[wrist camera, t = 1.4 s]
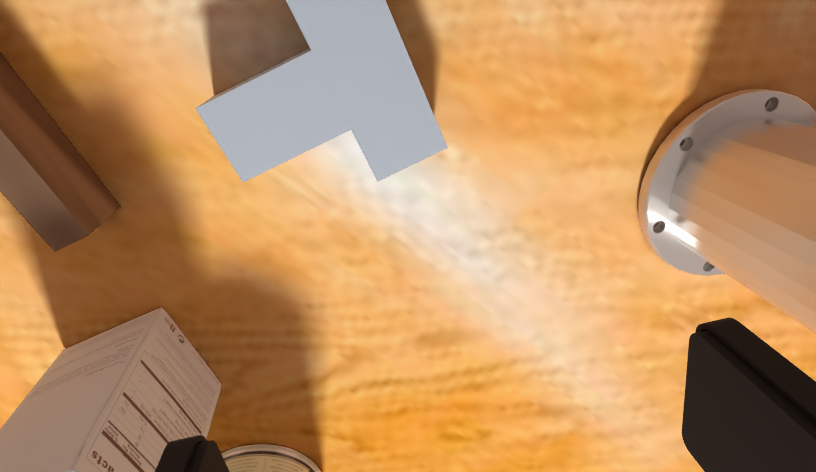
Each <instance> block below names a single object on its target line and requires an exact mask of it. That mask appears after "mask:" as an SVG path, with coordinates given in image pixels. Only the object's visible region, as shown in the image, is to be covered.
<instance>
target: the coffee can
mask: <svg viewBox="0 0 816 472" xmlns="http://www.w3.org/2000/svg"><path fill="white" fill-rule="evenodd" d="M221 454H222V457H223V459H224V461H225V463H226V465H227V467H228V469H229V471H230V472H321V471H320V469H319V468H318V466H317V465H316V464H315V463H314V462H313V461H312V460H311V459H310V458H308V457H307V456H306V455H304V454H302V453H300V452H298V451H296V450H293V449H291V448H287V447H283V446H279V445H272V444H254V445H244V446H239V447H236V448H233V449H230V450H227V451H225V452H223V453H221Z"/></svg>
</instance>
